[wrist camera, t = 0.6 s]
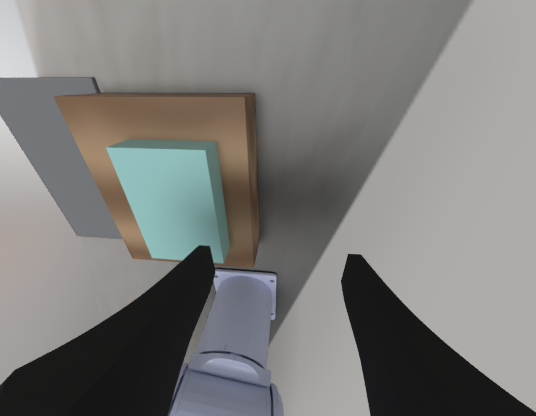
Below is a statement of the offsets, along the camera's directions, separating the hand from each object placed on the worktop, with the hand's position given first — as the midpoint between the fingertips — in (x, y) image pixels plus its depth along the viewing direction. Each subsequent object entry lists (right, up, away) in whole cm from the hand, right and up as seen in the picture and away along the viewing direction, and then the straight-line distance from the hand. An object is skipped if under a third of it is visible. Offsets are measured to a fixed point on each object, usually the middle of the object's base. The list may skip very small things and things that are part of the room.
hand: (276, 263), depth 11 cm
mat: (-18, +6, +9) cm, 22 cm away
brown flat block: (-7, +6, +8) cm, 13 cm away
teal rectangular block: (-7, +4, +5) cm, 9 cm away
